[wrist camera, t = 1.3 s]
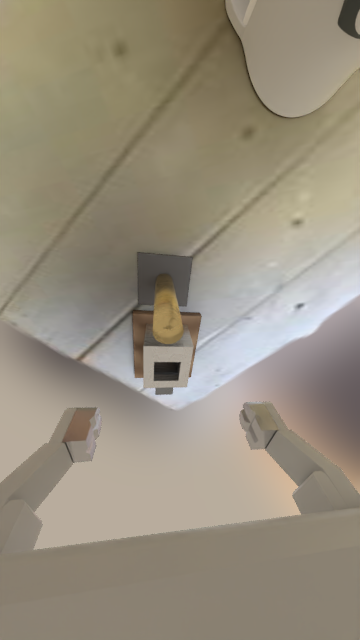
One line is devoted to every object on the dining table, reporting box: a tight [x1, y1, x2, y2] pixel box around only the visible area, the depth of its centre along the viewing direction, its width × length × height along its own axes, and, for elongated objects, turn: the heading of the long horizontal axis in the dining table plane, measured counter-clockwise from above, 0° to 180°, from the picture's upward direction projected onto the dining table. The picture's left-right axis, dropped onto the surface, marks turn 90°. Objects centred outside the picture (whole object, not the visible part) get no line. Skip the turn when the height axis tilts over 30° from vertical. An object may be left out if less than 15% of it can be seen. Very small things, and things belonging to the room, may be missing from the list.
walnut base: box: [133, 310, 201, 378], centre depth 37 cm, size 16×13×2 cm
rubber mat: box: [138, 252, 193, 306], centre depth 31 cm, size 9×9×1 cm
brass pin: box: [153, 274, 184, 344], centre depth 24 cm, size 3×3×16 cm
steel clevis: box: [143, 324, 194, 395], centre depth 34 cm, size 14×8×7 cm, turn 175°
